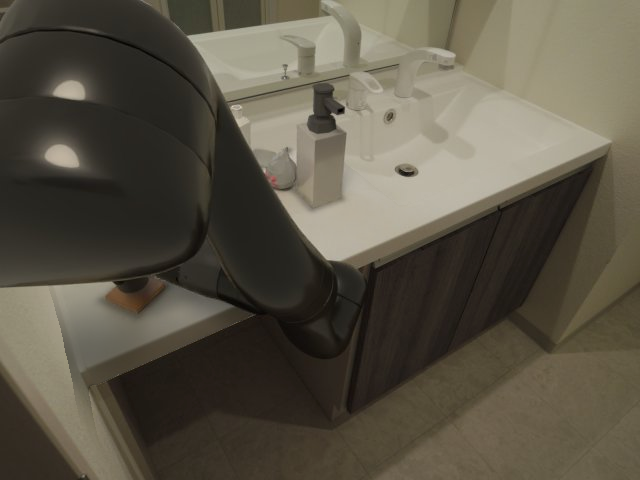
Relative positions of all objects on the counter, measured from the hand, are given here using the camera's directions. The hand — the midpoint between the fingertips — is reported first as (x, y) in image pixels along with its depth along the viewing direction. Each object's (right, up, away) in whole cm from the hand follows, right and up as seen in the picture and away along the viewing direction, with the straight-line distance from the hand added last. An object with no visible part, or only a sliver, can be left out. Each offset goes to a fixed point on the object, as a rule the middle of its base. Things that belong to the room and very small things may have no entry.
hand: (95, 221), depth 55 cm
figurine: (+22, +8, +31) cm, 38 cm away
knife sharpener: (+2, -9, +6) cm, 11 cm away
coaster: (+2, -11, +8) cm, 13 cm away
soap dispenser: (+30, +6, +28) cm, 41 cm away
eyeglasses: (+15, +16, +39) cm, 45 cm away
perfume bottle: (+13, +11, +33) cm, 37 cm away
